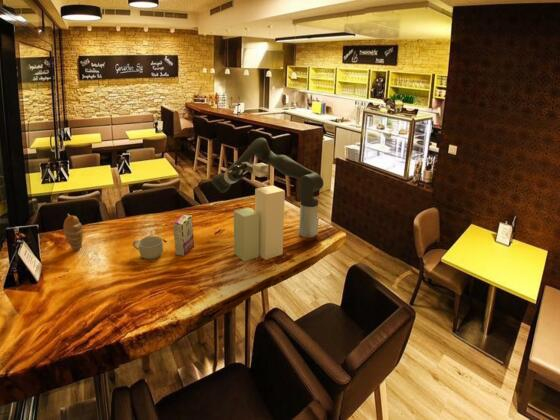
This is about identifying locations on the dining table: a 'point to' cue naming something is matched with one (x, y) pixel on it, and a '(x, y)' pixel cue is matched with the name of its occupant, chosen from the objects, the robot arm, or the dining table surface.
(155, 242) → the teacup
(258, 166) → the handle
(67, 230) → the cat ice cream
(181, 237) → the candy bar box
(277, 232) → the tall stand
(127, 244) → the dining table surface
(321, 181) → the robot arm
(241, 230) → the grey green tall block
